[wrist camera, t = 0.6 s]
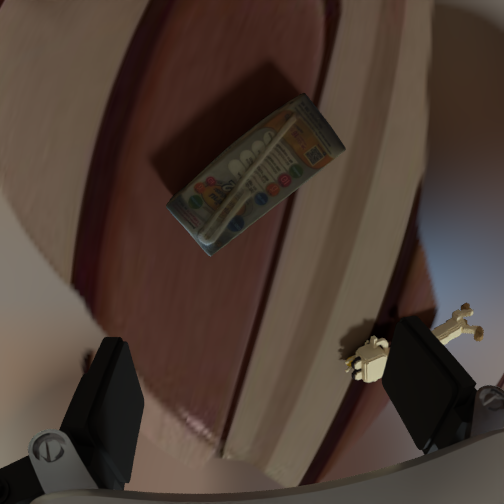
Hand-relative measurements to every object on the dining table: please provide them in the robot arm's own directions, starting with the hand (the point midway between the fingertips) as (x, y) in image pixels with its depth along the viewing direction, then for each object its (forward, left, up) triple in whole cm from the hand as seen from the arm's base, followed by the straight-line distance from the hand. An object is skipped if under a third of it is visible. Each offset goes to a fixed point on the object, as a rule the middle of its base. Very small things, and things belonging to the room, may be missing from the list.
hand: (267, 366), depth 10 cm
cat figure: (-3, +37, -31) cm, 48 cm away
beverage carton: (-4, 0, -31) cm, 31 cm away
